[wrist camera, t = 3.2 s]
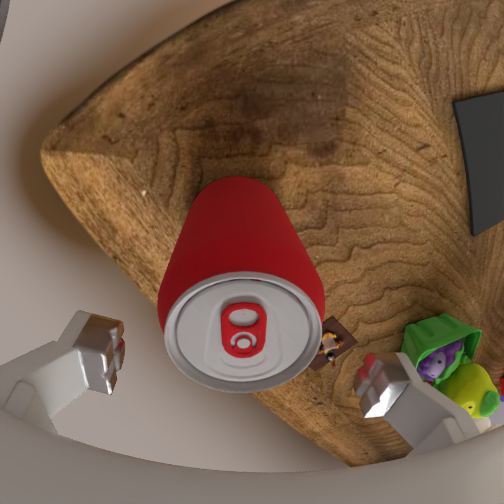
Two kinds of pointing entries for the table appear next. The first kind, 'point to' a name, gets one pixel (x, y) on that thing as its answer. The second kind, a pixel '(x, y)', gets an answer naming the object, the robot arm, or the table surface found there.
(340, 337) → the diorama
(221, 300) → the beverage can
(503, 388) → the toy building block
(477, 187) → the mat
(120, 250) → the table surface
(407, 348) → the fruit basket
